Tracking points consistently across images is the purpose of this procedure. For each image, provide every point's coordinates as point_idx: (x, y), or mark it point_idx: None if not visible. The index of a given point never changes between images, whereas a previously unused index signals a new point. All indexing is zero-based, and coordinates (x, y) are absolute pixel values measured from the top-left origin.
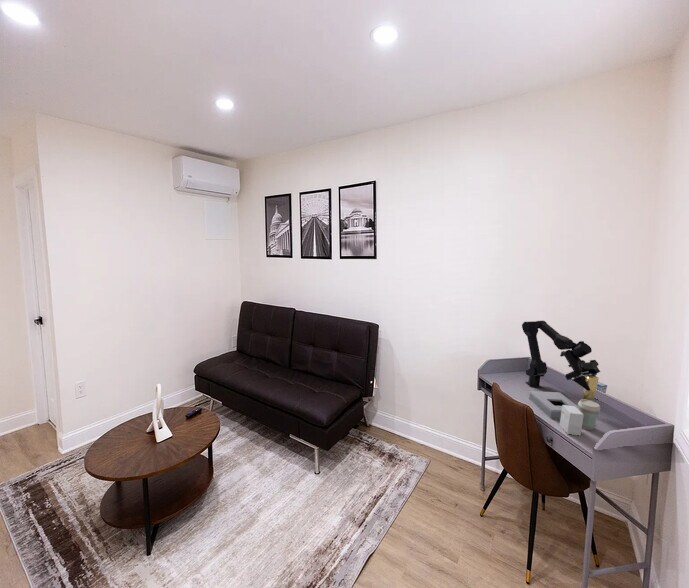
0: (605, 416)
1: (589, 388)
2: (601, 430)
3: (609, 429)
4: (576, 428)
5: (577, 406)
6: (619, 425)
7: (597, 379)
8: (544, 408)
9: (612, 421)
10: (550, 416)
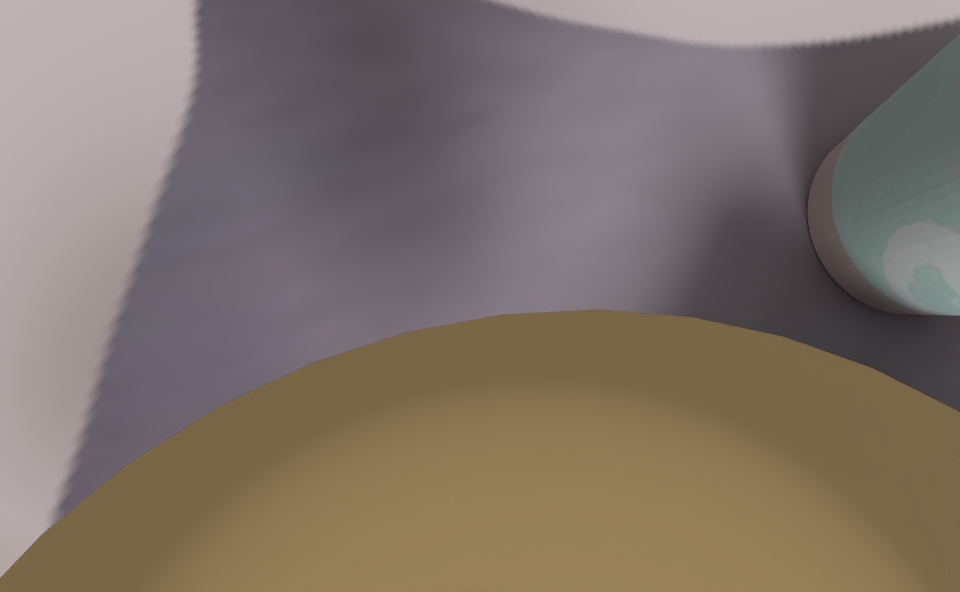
0: (223, 278)
1: None
2: (772, 63)
3: (622, 30)
4: None
5: None
6: (332, 27)
7: (655, 316)
8: None
9: (300, 137)
10: None
